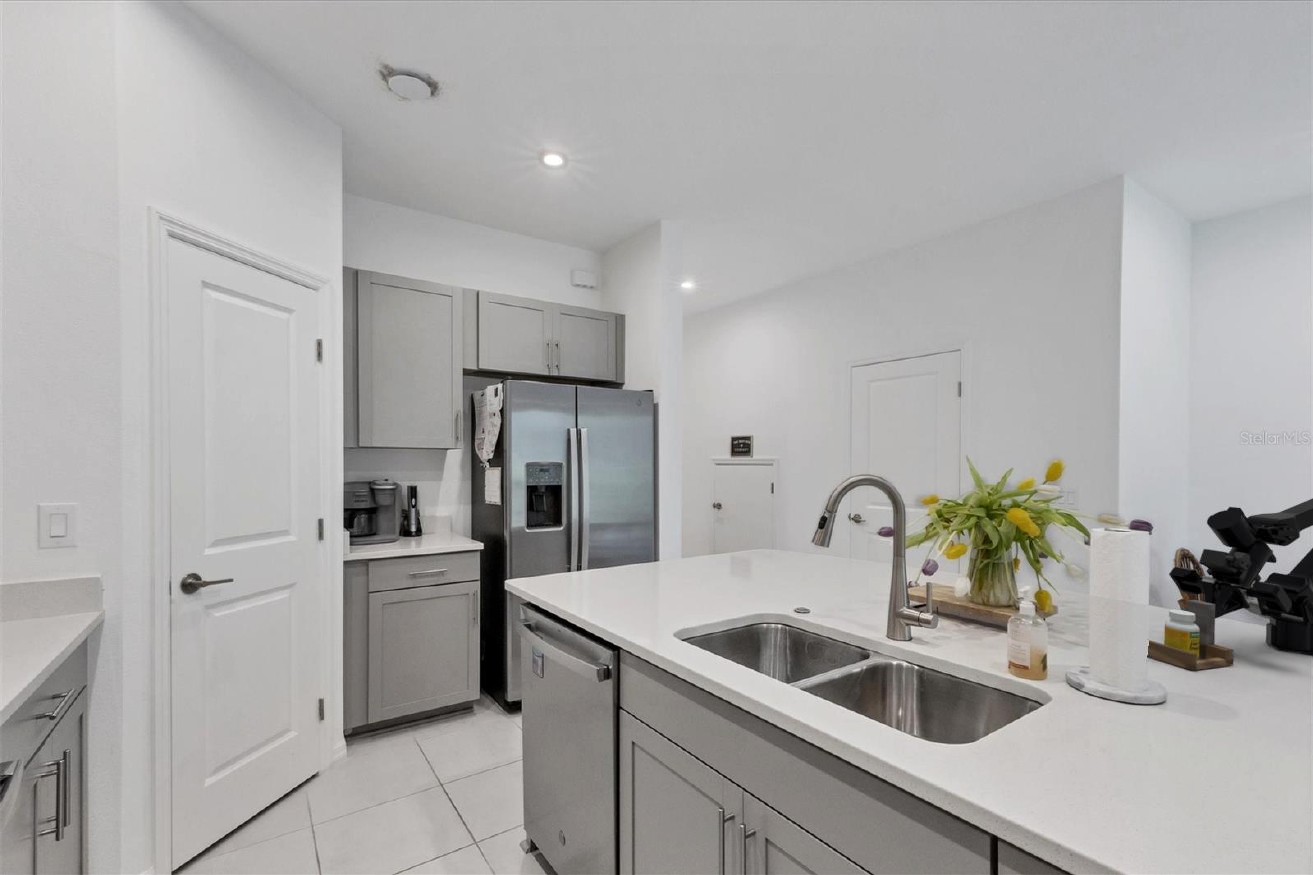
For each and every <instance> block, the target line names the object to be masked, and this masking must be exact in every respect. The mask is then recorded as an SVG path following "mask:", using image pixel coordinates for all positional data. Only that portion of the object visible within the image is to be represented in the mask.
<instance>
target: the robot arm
mask: <svg viewBox="0 0 1313 875" xmlns="http://www.w3.org/2000/svg"><path fill="white" fill-rule="evenodd" d="M1206 524H1207V526H1208V527H1209V528H1210V529H1211V531H1212V532H1213V534H1214V535H1215V536H1216V537H1217V538H1218V540H1219V542H1221V544H1222V545H1223V546H1225V547H1228V548H1230V550H1229V552H1226V551H1222V550H1216V549H1210V548H1209V549H1207V548H1203V549H1202V553H1201V556H1200V559H1199V561H1198V563H1199V564H1200V565H1202V566H1204V567H1205V568H1207V569H1206V573H1207V575H1202V577H1201V575H1200V574H1199V572H1198V571H1197V570H1196V569H1192V568H1188V567H1183V566H1182V567H1180V566H1175V567H1173V568H1172V569H1171V570H1170V572H1169V573H1168V575H1169V576H1170V578H1171V579H1172V581H1173V582H1174V583H1175V585H1176V587H1177V588H1178V590H1179V591H1181V592H1183V593H1187V594H1191V595H1201V594H1204V602H1206V603H1211V604H1215V620H1216V619H1218V618H1220V617H1223V616H1225V615H1227V614H1230V613H1233V612H1237V611H1239V610H1242V609H1250V608H1251V604H1250V602H1251V601H1254V599H1256V600H1257V604H1258V608H1259V611H1260V615H1261V616H1264V617H1269V622H1267V623H1266V624H1265V625H1266V628H1265V629H1266V630H1265V643H1266V644H1267V645H1269V646H1271V647H1272V648H1274V649H1276V650H1277V651H1282V652H1288V653H1289V652H1291V653H1297V654H1304V655H1311V656H1313V547H1312V548H1311V549H1310V550H1309V551H1308V552H1307V553H1306V554H1305V555H1304V557H1302V559H1301V560H1300V561H1299V562H1298V563H1297V564H1296V565H1295V566H1294V567H1293V568H1292V569H1291V571H1290V572H1288V573H1287V574H1285V573H1284V574H1283V573H1279V572H1272V573H1270V574H1269V576H1267V578H1266V579H1265V581H1261V580H1262V577H1261V575H1260V573H1261V572H1262V570H1263V568H1264V567H1265V565H1266V563H1272V564H1276V563H1277V561H1278V560H1277V557H1276V556H1275V554H1274V551H1273V549H1271V548H1270V546H1269V545H1272V546H1273V545H1274V546H1279V547H1286V546H1289V545H1291V544H1292V543H1294V542H1295V541H1297V540H1298V539H1299V538H1300V537H1301V533H1300V532H1302V531H1304V530H1306V529H1308V528H1311V527H1313V497H1312V498H1310V499H1308V500H1305V501H1303V502H1301V503H1299V504H1296V505H1294V506H1291V507H1288V508H1286V509H1284V510H1281V511H1279V512H1271V513H1269V512H1268V513H1259V514H1254V515H1250V516H1248V517H1247V516H1246V515H1245V513H1244V511H1243V509H1242V508H1241V507H1236V506H1235V507H1233V506H1229V507H1228V508H1227V509H1224V510H1220V511H1218V512H1215V513H1213V514H1212V515H1209V516H1208V518H1207V519H1206Z"/></svg>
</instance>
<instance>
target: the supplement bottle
mask: <svg viewBox="0 0 1313 875" xmlns="http://www.w3.org/2000/svg"><path fill="white" fill-rule="evenodd" d="M1168 617H1169V619H1167V620H1166V621H1165V622H1164V638H1163V639H1164V643H1163V644H1164V645H1168V646H1171V647H1175V648H1178V649H1181V650H1185V651H1188V652H1192V653H1195V654H1197V660H1200V658H1199V636H1200V629H1199V627H1198V626H1197V625H1196V624H1194V623H1193V622H1194V621H1195V620H1196V619H1195V614H1194V613H1191V612H1188V611H1187V610H1181V609H1169V611H1168Z"/></svg>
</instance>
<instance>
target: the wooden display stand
mask: <svg viewBox="0 0 1313 875" xmlns="http://www.w3.org/2000/svg"><path fill="white" fill-rule="evenodd" d="M1186 611H1188V612H1191V613H1194V614H1195V619H1196V620H1195V621H1194V622H1193V623H1194V624H1196V625H1197V626H1198V627H1199V629H1200V636H1199V660H1197V654H1195V653H1192V652H1188V651H1185V650H1181V649H1178V648H1175V647H1171V646H1168V645H1164V643H1161V642H1157V641H1155V640H1150V639H1148V640H1149V646H1148V656H1147V657H1149V658H1153V659H1156V660H1158V661H1162V662H1165V663H1168V664H1172V665H1175V666H1177V667H1181V668H1183V669H1187V670H1190V671H1197V670H1204V669H1211V668H1219V667H1220V668H1222V667H1227V666H1233V665H1234V652H1235V651H1234V649H1233V648H1229V647H1226V646H1222V645H1218V644H1215V638H1216V636H1215V635H1216V634H1215V632H1216V631H1215V629H1216V619H1215V604H1211V603H1206V602H1205V601H1202V600H1197V599H1190V600H1186Z"/></svg>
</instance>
